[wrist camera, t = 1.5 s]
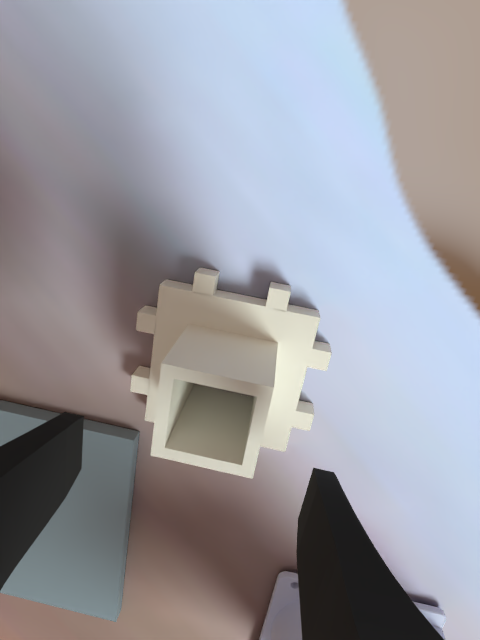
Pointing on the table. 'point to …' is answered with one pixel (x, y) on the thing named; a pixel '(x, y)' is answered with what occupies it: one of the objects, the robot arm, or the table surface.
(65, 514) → the carrier plate
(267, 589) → the table surface
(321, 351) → the gear
